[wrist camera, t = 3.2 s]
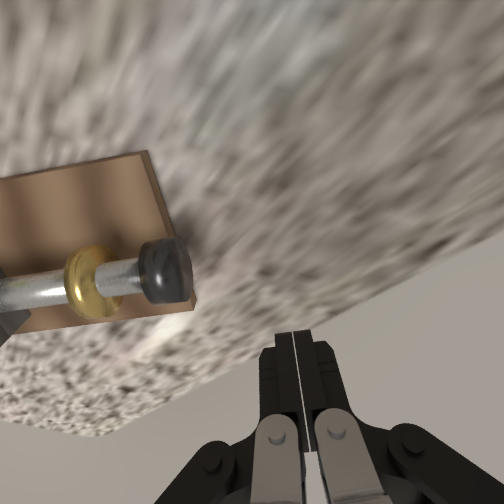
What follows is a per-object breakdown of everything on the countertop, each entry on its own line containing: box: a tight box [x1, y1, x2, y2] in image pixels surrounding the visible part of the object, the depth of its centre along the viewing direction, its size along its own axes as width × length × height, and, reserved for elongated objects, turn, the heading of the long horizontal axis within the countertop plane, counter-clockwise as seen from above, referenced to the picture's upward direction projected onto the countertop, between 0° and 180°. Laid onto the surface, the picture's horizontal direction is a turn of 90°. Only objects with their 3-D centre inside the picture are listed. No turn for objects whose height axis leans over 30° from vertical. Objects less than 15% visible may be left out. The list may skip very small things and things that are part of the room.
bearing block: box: [0, 150, 197, 347], centre depth 23 cm, size 22×14×10 cm, turn 100°
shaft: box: [0, 236, 193, 319], centre depth 22 cm, size 20×5×5 cm, turn 100°
